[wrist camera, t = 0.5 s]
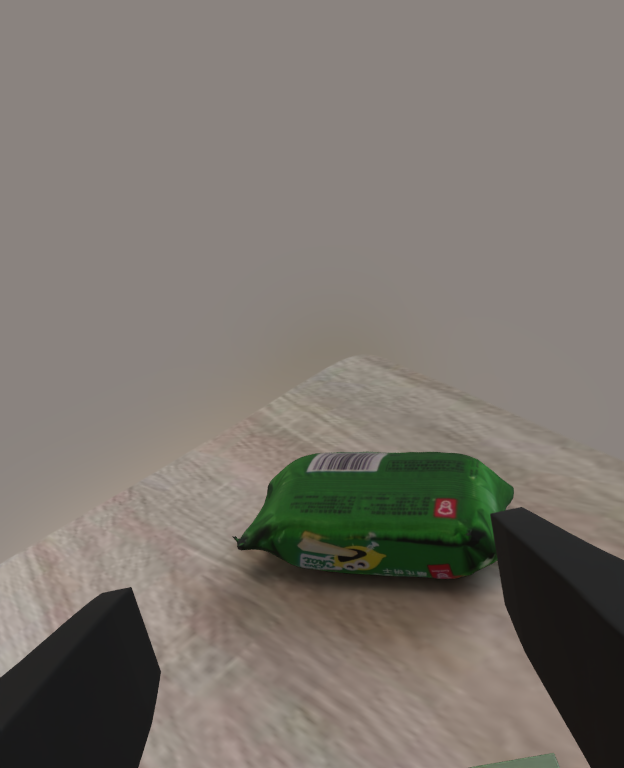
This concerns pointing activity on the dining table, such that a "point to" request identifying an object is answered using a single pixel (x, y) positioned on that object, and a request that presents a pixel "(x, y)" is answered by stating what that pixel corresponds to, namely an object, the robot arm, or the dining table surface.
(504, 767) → the green tray
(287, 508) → the snack package
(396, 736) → the dining table surface
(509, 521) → the robot arm
